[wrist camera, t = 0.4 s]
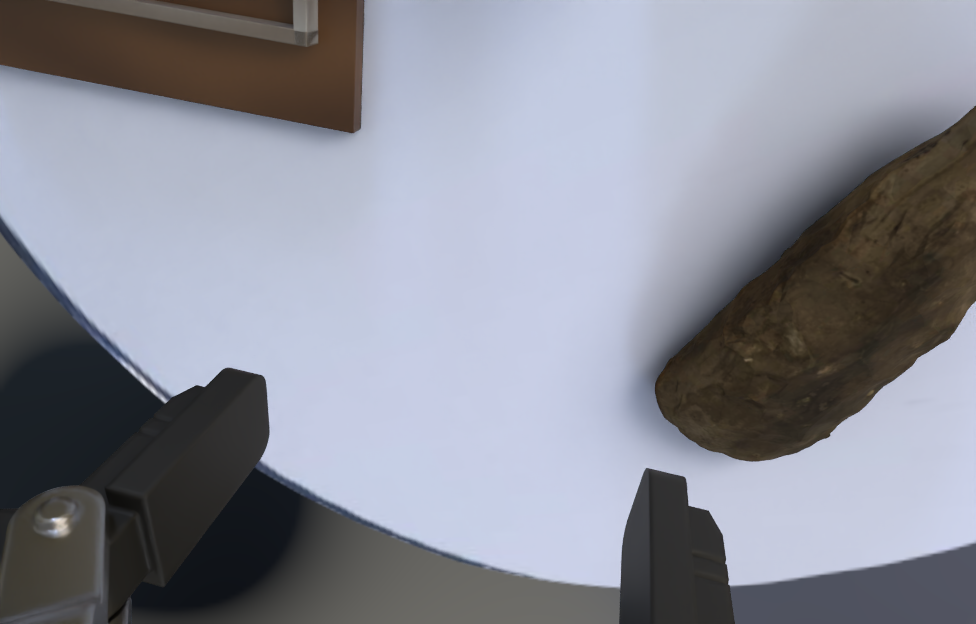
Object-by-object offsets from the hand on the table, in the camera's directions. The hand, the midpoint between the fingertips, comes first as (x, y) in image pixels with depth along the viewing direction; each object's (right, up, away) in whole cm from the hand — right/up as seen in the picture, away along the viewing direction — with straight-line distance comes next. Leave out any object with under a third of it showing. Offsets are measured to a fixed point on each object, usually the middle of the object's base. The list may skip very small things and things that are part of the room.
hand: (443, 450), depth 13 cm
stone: (+21, +4, +25) cm, 33 cm away
